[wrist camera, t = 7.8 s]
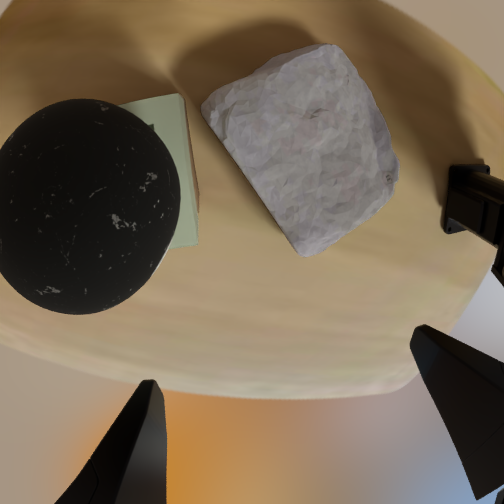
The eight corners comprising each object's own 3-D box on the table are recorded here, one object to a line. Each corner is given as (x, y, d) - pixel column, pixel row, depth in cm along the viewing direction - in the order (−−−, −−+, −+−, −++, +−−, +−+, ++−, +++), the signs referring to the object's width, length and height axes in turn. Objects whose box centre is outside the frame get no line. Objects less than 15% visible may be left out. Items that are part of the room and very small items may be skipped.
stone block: (302, 42, 16) (181, 114, 15) (343, 22, 12) (194, 101, 11) (374, 173, 22) (284, 252, 21) (418, 183, 17) (320, 279, 17)
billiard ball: (136, 277, 12) (104, 389, 6) (27, 208, 9) (-60, 278, 4) (216, 158, 10) (233, 204, 5) (89, 78, 8) (-7, 54, 3)
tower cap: (183, 99, 12) (178, 93, 9) (198, 218, 14) (198, 245, 12) (68, 126, 11) (36, 131, 8) (90, 236, 14) (69, 264, 11)
